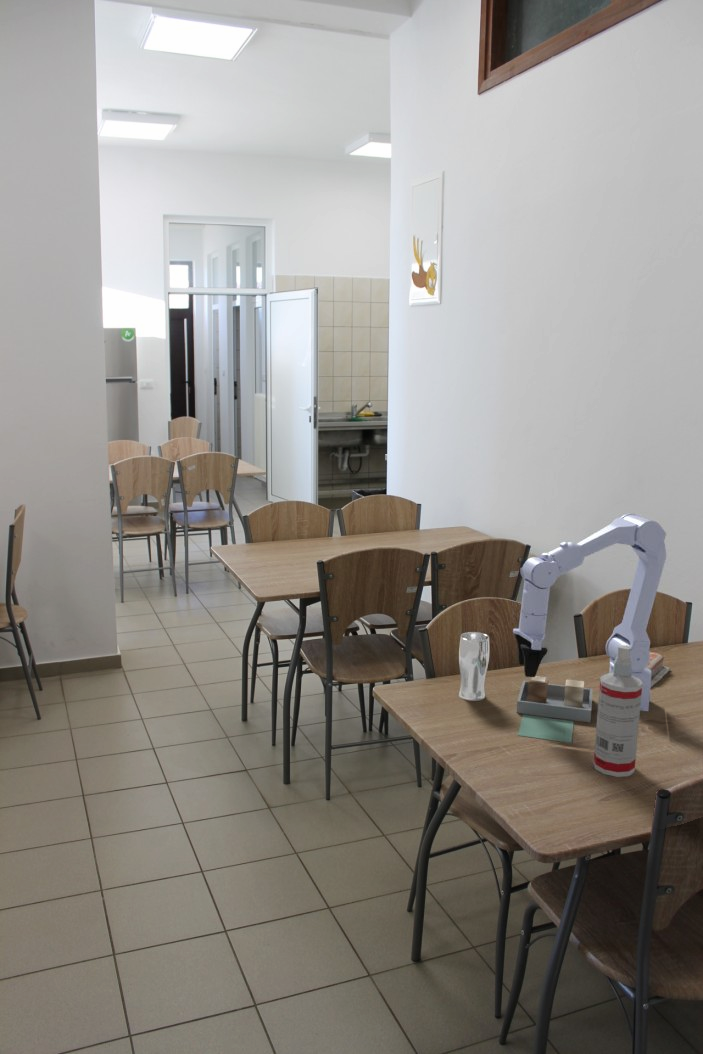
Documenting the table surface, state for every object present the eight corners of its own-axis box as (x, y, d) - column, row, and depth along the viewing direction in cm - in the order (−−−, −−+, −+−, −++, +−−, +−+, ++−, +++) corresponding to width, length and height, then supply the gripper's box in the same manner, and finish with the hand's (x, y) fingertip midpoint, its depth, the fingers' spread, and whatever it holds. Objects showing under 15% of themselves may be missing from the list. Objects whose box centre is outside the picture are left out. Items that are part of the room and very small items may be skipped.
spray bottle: (622, 780, 169) (633, 656, 164) (586, 767, 174) (596, 646, 169) (640, 767, 175) (651, 646, 170) (605, 754, 180) (615, 637, 175)
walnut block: (546, 701, 205) (548, 676, 203) (545, 708, 201) (547, 682, 200) (529, 699, 206) (530, 674, 205) (527, 706, 202) (529, 680, 201)
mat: (573, 723, 194) (573, 721, 194) (571, 745, 184) (571, 742, 184) (522, 717, 197) (522, 714, 197) (517, 737, 187) (517, 735, 187)
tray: (591, 702, 206) (592, 689, 206) (590, 724, 194) (591, 710, 193) (522, 693, 211) (522, 680, 210) (516, 714, 198) (517, 701, 198)
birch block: (582, 706, 203) (584, 681, 201) (581, 712, 199) (583, 687, 198) (564, 703, 204) (566, 679, 202) (563, 710, 200) (565, 685, 199)
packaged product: (633, 645, 233) (671, 654, 227) (631, 663, 234) (670, 672, 228) (608, 664, 218) (649, 674, 213) (607, 683, 219) (647, 693, 214)
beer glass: (491, 701, 205) (495, 640, 202) (464, 704, 203) (467, 642, 200) (479, 690, 212) (482, 630, 209) (452, 693, 210) (455, 632, 207)
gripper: (510, 601, 203) (504, 658, 205) (521, 620, 189) (514, 680, 191) (541, 604, 203) (534, 660, 205) (554, 622, 189) (546, 683, 191)
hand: (526, 670), depth 198 cm, fingers open, 7 cm apart
